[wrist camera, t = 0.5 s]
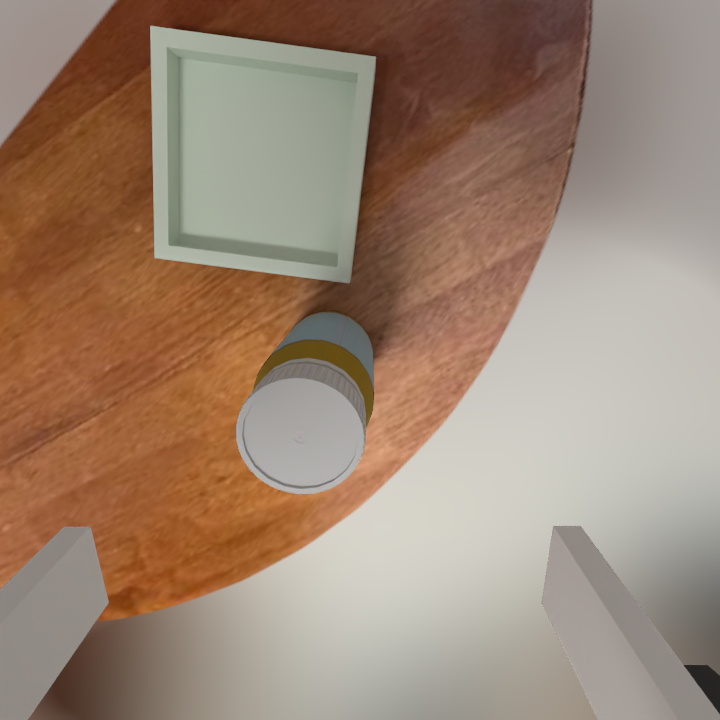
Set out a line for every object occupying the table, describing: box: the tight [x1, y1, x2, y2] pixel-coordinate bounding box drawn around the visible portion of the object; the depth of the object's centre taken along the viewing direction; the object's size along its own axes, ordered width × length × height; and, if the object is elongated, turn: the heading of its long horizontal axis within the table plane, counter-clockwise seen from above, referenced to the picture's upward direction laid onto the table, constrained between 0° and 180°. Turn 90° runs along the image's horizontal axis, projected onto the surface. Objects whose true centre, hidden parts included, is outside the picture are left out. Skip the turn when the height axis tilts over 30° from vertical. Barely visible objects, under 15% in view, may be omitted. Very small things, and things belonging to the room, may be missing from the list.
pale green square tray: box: [150, 26, 376, 283], centre depth 29 cm, size 14×14×2 cm
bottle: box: [236, 311, 374, 494], centre depth 27 cm, size 7×7×15 cm
